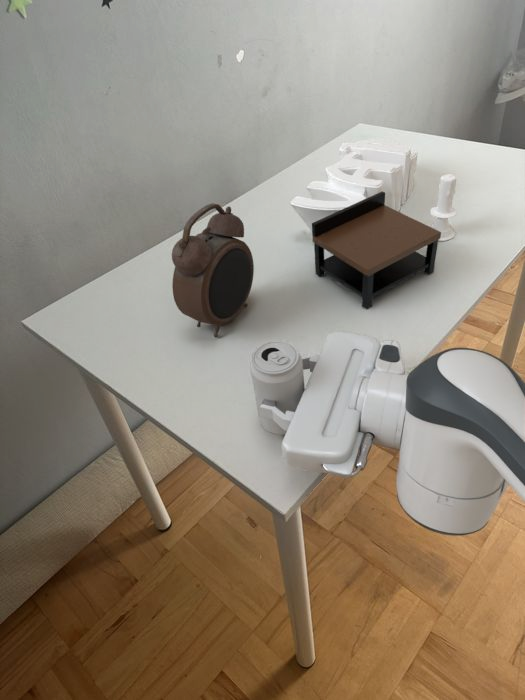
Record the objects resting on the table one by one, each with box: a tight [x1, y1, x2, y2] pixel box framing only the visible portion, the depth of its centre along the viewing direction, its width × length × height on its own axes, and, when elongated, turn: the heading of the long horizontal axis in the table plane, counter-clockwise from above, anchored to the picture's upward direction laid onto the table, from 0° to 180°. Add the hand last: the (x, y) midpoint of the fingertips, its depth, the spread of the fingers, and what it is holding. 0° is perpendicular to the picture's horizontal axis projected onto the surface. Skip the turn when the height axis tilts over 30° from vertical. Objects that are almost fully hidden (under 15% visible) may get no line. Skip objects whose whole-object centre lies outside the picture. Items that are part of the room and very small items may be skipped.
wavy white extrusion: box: [289, 138, 419, 232], centre depth 104 cm, size 35×16×11 cm, turn 146°
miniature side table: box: [311, 191, 441, 310], centre depth 87 cm, size 14×16×10 cm
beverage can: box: [249, 339, 306, 435], centre depth 64 cm, size 6×6×12 cm
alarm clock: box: [171, 202, 255, 338], centre depth 79 cm, size 14×7×20 cm, turn 147°
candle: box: [429, 173, 458, 242], centre depth 93 cm, size 5×5×12 cm
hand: (272, 384), depth 64 cm, fingers closed on beverage can, 6 cm apart
